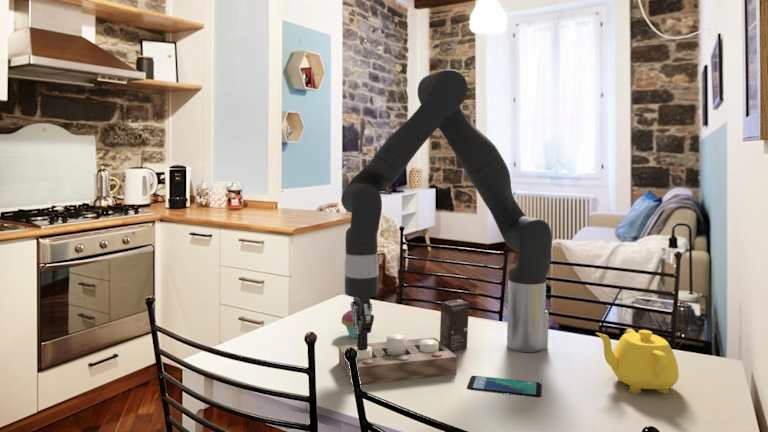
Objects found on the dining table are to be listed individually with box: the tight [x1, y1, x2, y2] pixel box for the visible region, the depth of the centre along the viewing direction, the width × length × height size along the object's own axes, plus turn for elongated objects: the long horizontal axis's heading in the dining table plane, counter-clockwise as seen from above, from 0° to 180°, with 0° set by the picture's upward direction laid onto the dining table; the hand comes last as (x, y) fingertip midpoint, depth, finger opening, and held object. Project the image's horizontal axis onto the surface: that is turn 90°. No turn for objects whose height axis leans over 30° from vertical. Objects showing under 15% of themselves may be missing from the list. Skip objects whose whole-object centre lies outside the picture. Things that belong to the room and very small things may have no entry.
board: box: [338, 337, 458, 387], centre depth 129 cm, size 24×14×4 cm, turn 105°
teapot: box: [595, 328, 680, 394], centre depth 119 cm, size 14×14×12 cm
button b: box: [386, 333, 407, 357], centre depth 128 cm, size 4×4×4 cm
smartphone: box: [466, 375, 542, 398], centre depth 118 cm, size 7×1×15 cm
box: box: [439, 298, 470, 352], centre depth 142 cm, size 6×4×12 cm
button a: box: [420, 339, 440, 353], centre depth 131 cm, size 4×4×4 cm
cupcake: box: [341, 309, 357, 339], centre depth 152 cm, size 9×8×12 cm
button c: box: [354, 346, 372, 360], centre depth 126 cm, size 4×4×4 cm
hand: (362, 348), depth 126 cm, fingers closed
